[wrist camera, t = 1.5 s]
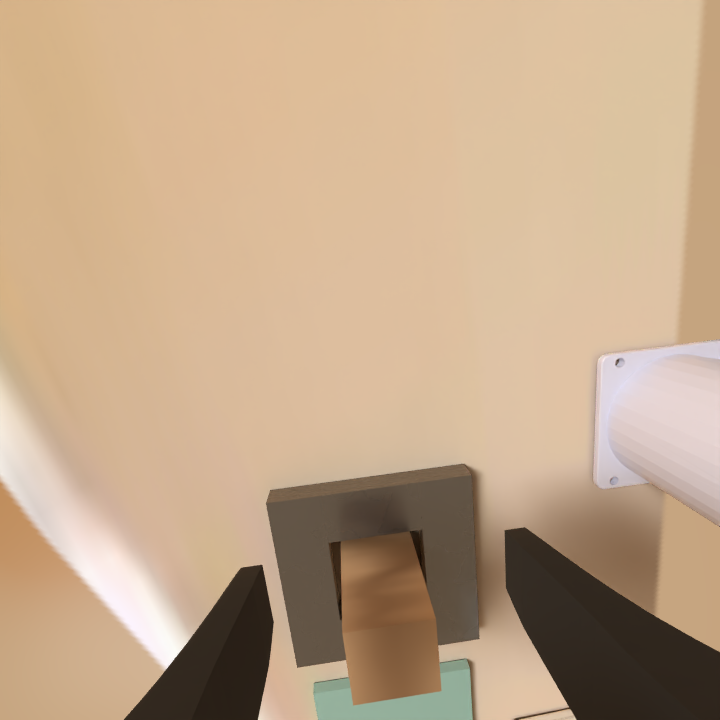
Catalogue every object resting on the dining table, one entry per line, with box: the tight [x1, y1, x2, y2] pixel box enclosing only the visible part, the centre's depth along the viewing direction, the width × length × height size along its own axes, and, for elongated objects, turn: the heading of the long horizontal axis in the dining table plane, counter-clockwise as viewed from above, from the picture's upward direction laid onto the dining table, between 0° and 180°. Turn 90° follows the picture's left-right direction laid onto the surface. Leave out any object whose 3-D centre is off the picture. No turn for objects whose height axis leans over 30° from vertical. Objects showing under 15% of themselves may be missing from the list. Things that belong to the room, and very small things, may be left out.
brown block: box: [341, 531, 442, 706], centre depth 18 cm, size 4×4×6 cm
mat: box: [313, 659, 473, 720], centre depth 24 cm, size 10×7×1 cm
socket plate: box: [266, 464, 479, 668], centre depth 21 cm, size 11×11×1 cm
